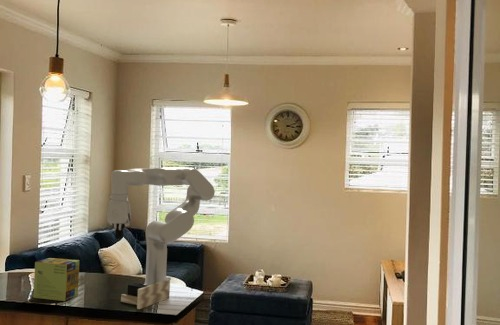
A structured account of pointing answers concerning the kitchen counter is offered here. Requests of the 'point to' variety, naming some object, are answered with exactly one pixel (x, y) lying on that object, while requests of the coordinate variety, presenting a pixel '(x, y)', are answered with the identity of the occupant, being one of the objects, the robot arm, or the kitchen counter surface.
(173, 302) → the kitchen counter surface
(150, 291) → the display bay
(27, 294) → the kitchen counter surface
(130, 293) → the digital camera
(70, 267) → the protein box
